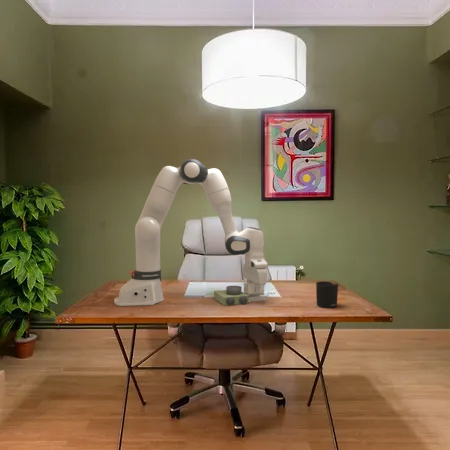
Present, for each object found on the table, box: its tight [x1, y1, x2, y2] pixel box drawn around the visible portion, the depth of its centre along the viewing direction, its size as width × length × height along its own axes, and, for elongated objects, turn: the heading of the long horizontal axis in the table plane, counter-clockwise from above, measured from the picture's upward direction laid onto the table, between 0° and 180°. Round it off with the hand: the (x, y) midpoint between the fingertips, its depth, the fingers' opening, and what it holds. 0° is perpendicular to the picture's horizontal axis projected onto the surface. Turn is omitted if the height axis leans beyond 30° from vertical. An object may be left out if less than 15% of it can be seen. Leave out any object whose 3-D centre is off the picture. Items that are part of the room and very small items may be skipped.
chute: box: [243, 282, 265, 296], centre depth 193 cm, size 8×6×5 cm
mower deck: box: [213, 285, 269, 306], centre depth 190 cm, size 22×15×6 cm
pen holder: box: [315, 281, 339, 309], centre depth 180 cm, size 9×9×10 cm
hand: (253, 290), depth 193 cm, fingers closed on chute, 5 cm apart
